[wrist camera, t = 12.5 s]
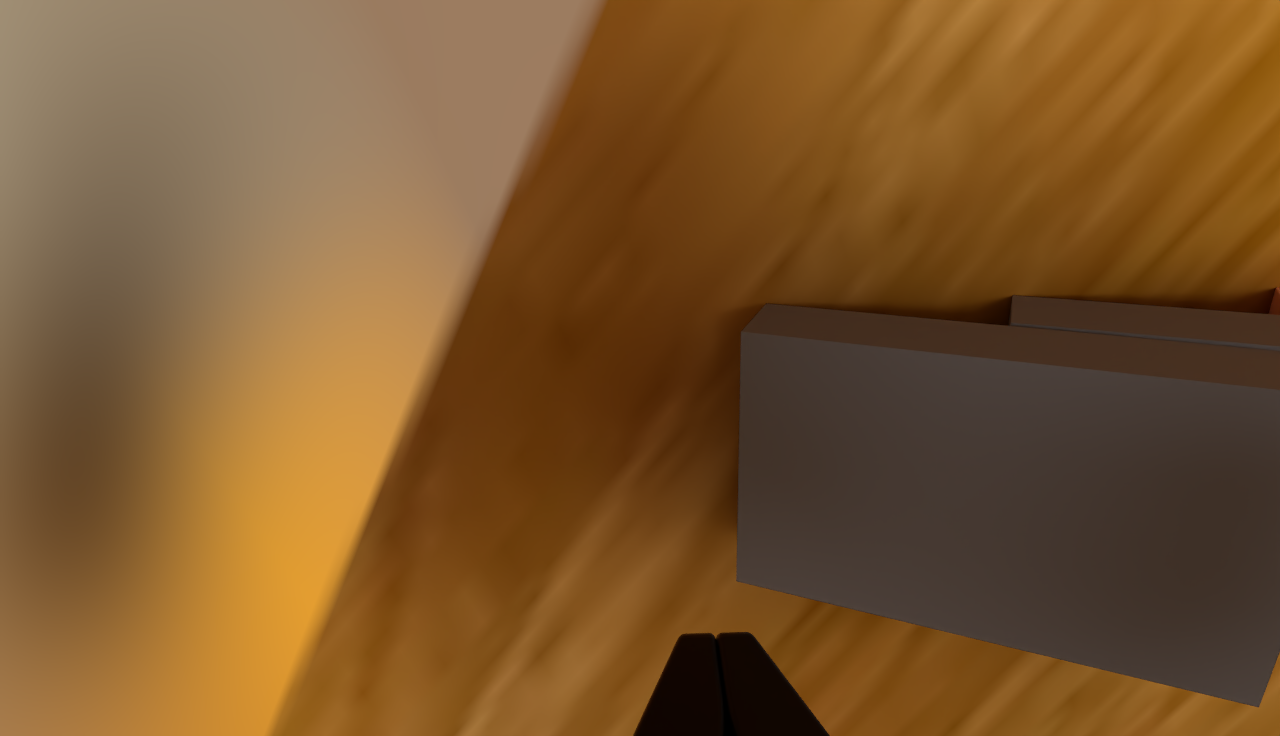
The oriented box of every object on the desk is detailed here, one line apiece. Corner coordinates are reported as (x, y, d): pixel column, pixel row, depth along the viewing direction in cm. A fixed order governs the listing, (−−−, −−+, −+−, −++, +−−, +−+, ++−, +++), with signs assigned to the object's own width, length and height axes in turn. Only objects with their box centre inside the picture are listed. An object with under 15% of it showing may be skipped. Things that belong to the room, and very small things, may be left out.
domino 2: (977, 528, 15) (1520, 634, 12) (973, 575, 14) (1582, 708, 11) (1012, 294, 13) (1666, 343, 10) (1011, 322, 12) (1764, 389, 9)
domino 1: (758, 534, 15) (1229, 635, 12) (736, 581, 14) (1259, 706, 11) (766, 303, 14) (1324, 355, 10) (740, 331, 12) (1373, 399, 9)
